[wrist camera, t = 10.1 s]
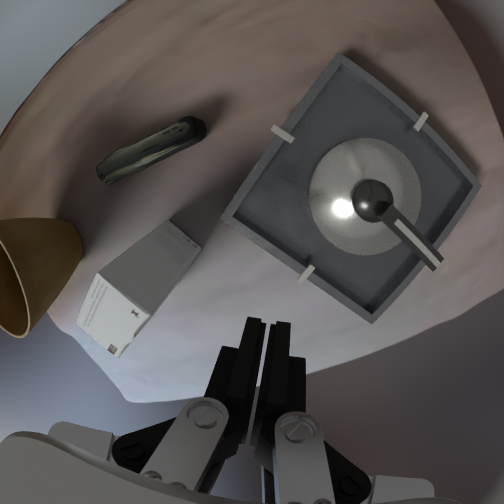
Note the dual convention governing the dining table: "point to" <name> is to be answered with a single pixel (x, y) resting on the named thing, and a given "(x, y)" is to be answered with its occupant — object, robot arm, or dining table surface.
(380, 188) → the dial
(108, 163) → the green cucumber
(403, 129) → the housing
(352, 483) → the robot arm
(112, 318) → the skincare box
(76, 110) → the dining table surface
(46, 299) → the plant pot
